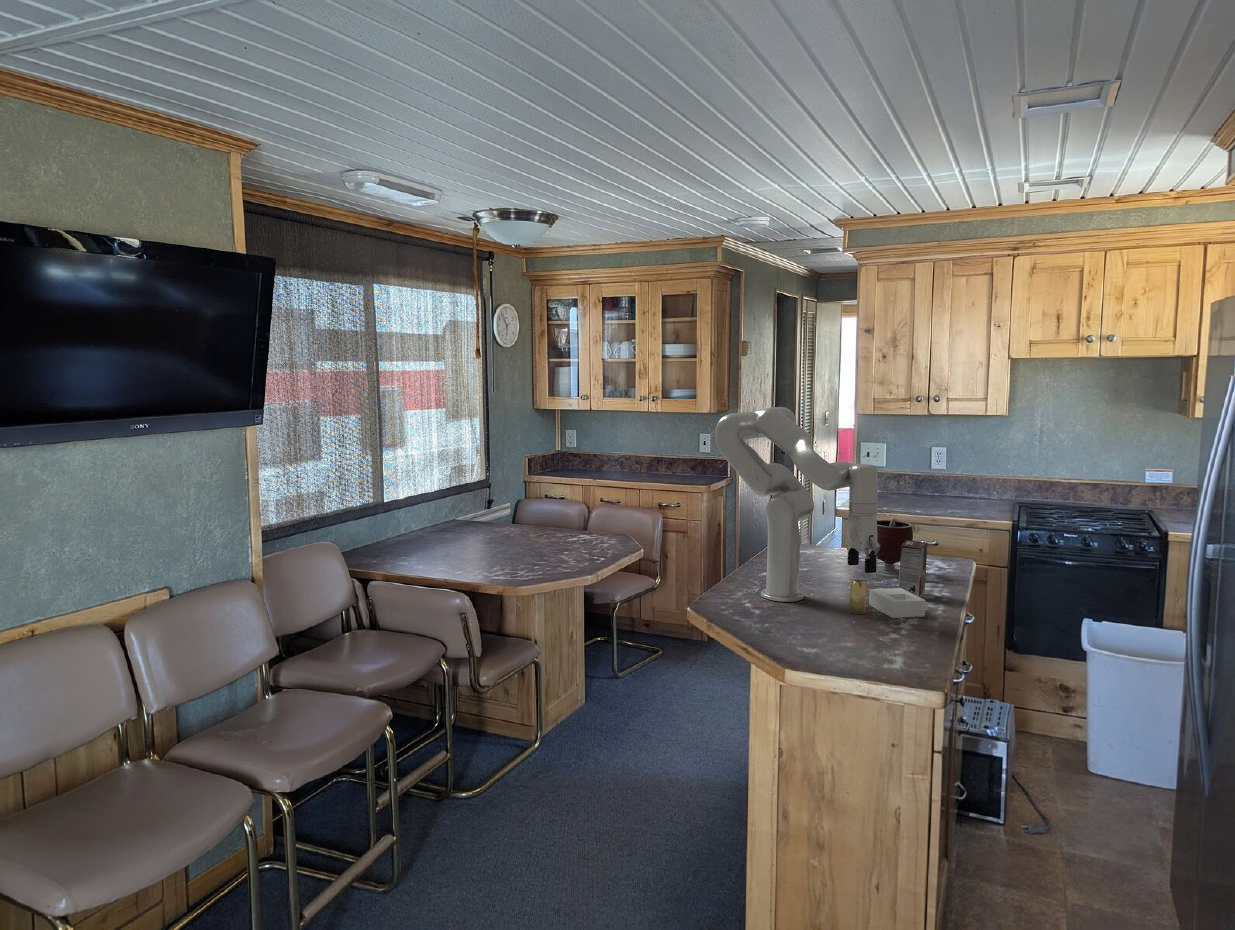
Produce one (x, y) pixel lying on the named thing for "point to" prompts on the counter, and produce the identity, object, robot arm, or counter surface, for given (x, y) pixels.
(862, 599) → the cylinder
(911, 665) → the counter surface
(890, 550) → the dark red goblet
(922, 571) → the coffee box
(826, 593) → the counter surface
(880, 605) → the block
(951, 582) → the counter surface
